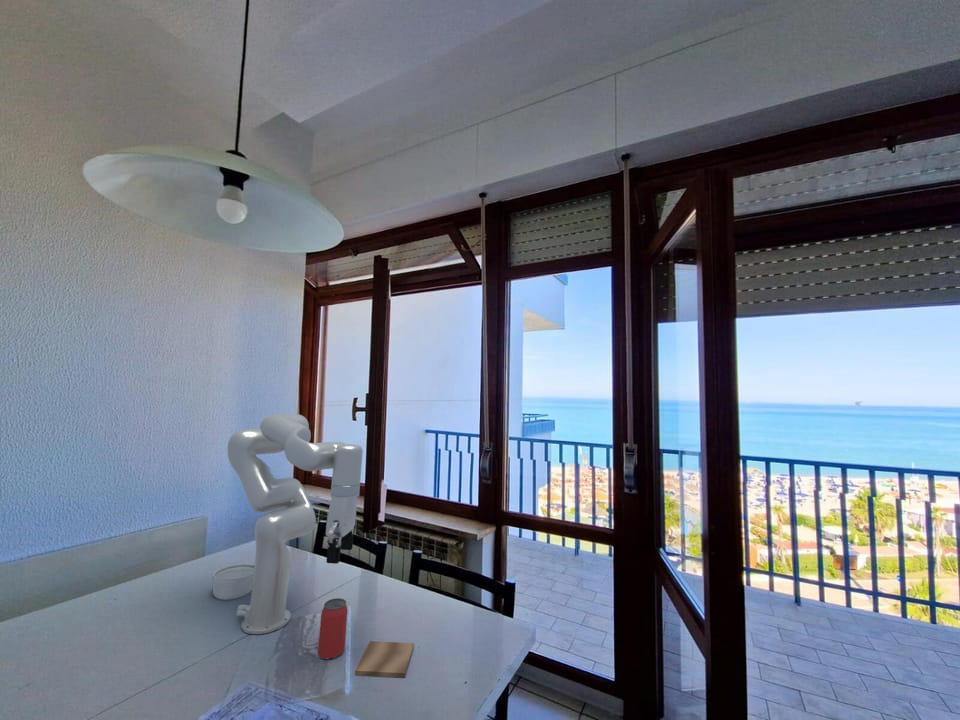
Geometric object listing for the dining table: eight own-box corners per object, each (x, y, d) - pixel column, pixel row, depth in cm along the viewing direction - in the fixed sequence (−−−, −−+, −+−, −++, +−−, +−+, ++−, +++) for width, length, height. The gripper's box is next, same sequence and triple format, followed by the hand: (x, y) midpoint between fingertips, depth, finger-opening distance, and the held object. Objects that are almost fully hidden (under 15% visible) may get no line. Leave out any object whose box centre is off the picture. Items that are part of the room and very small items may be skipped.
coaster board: (354, 675, 91) (355, 670, 91) (369, 644, 103) (370, 641, 103) (404, 677, 91) (404, 673, 91) (413, 647, 103) (413, 643, 103)
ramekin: (263, 591, 131) (266, 569, 132) (221, 606, 120) (224, 582, 121) (244, 580, 138) (246, 560, 139) (202, 594, 127) (205, 572, 128)
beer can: (335, 662, 96) (339, 611, 97) (312, 658, 97) (316, 607, 98) (349, 647, 102) (353, 599, 104) (327, 643, 103) (331, 595, 105)
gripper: (343, 484, 114) (338, 544, 111) (318, 496, 97) (311, 568, 94) (368, 485, 114) (363, 545, 111) (347, 497, 96) (341, 569, 94)
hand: (339, 555), depth 103 cm, fingers open, 9 cm apart
